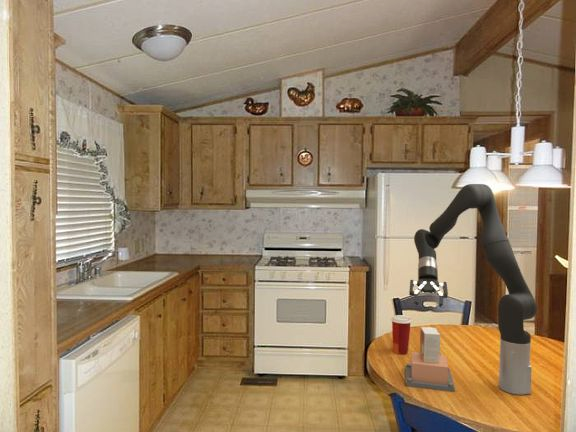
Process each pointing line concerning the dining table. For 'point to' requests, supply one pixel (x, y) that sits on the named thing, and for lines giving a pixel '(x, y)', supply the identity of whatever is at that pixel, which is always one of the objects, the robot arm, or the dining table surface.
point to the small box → (429, 345)
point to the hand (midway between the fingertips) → (428, 305)
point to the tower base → (427, 384)
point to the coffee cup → (400, 333)
